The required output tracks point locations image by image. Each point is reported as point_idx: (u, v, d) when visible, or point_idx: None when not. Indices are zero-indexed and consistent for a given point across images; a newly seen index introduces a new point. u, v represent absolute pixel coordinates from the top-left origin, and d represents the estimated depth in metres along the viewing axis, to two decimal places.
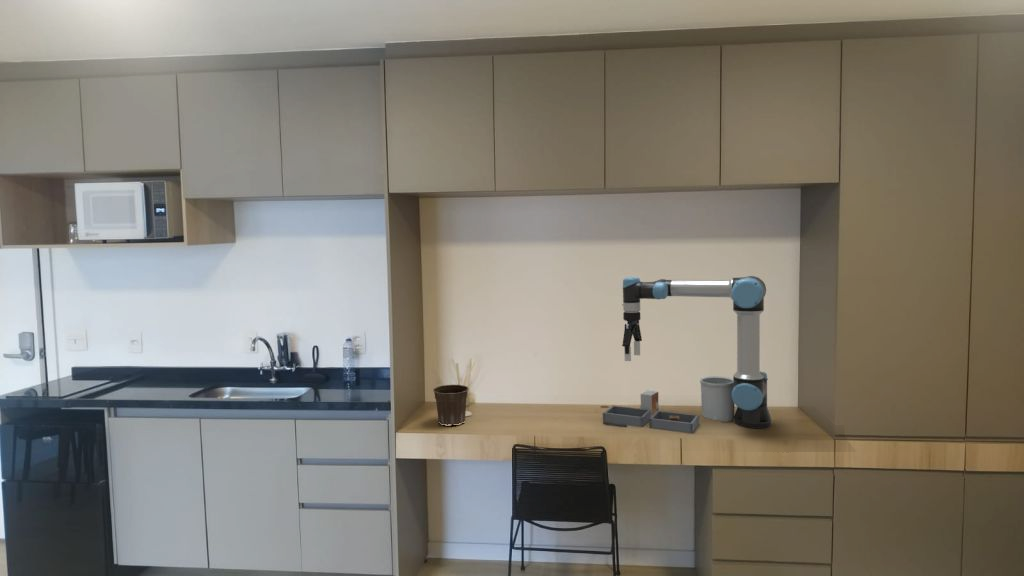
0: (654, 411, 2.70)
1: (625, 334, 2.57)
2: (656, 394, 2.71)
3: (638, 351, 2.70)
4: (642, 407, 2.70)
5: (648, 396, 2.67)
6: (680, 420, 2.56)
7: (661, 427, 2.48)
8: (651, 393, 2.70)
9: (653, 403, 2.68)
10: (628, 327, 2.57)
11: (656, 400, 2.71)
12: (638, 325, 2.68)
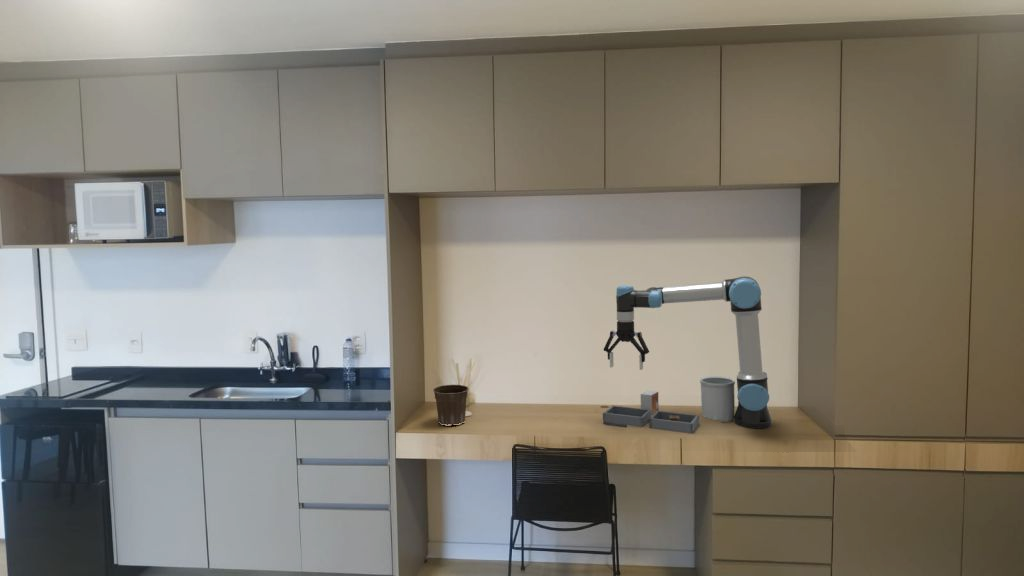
0: (654, 411, 2.70)
1: None
2: (656, 394, 2.71)
3: None
4: (642, 407, 2.70)
5: (648, 396, 2.67)
6: (680, 420, 2.56)
7: (661, 427, 2.48)
8: (651, 393, 2.70)
9: (653, 403, 2.68)
10: None
11: (656, 400, 2.71)
12: None
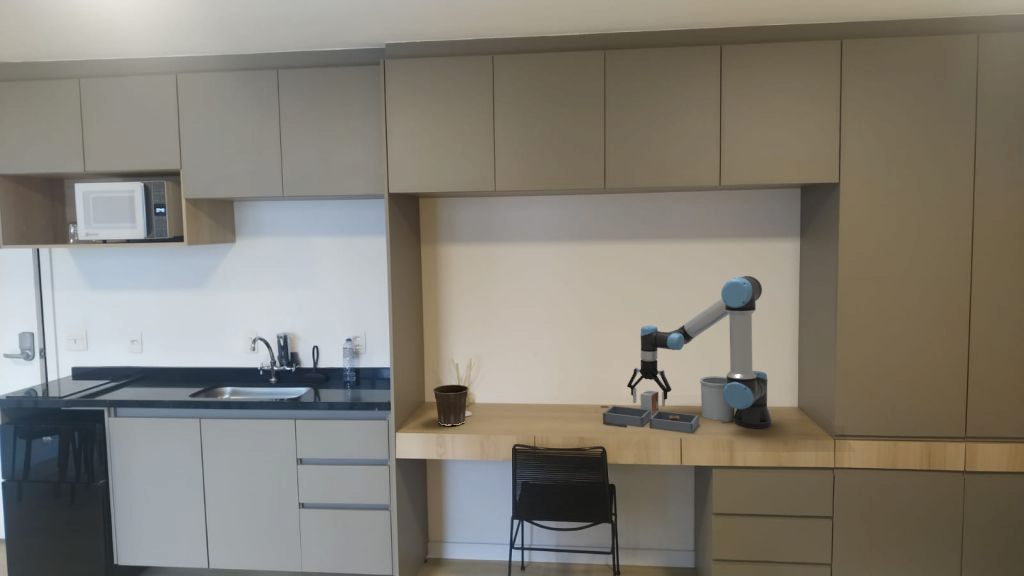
0: (654, 411, 2.70)
1: (632, 376, 2.75)
2: (656, 394, 2.71)
3: None
4: (642, 407, 2.70)
5: (648, 396, 2.67)
6: (680, 420, 2.56)
7: (661, 427, 2.48)
8: (651, 393, 2.70)
9: (653, 403, 2.68)
10: None
11: (656, 400, 2.71)
12: None
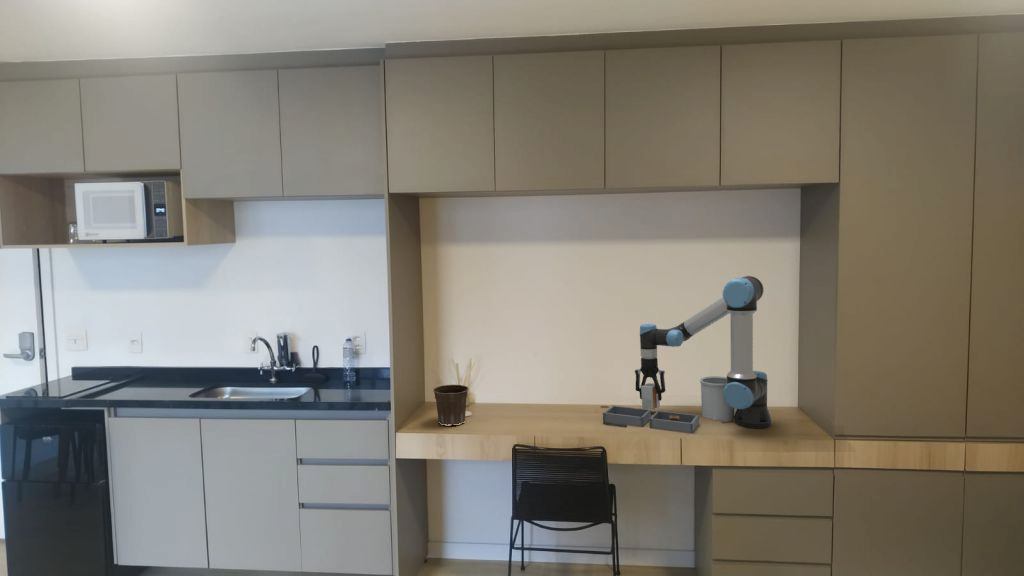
0: (656, 404, 2.69)
1: None
2: None
3: None
4: (643, 399, 2.69)
5: (649, 388, 2.67)
6: (680, 420, 2.56)
7: (661, 427, 2.48)
8: (651, 385, 2.69)
9: (654, 395, 2.67)
10: None
11: (657, 392, 2.70)
12: (660, 375, 2.67)
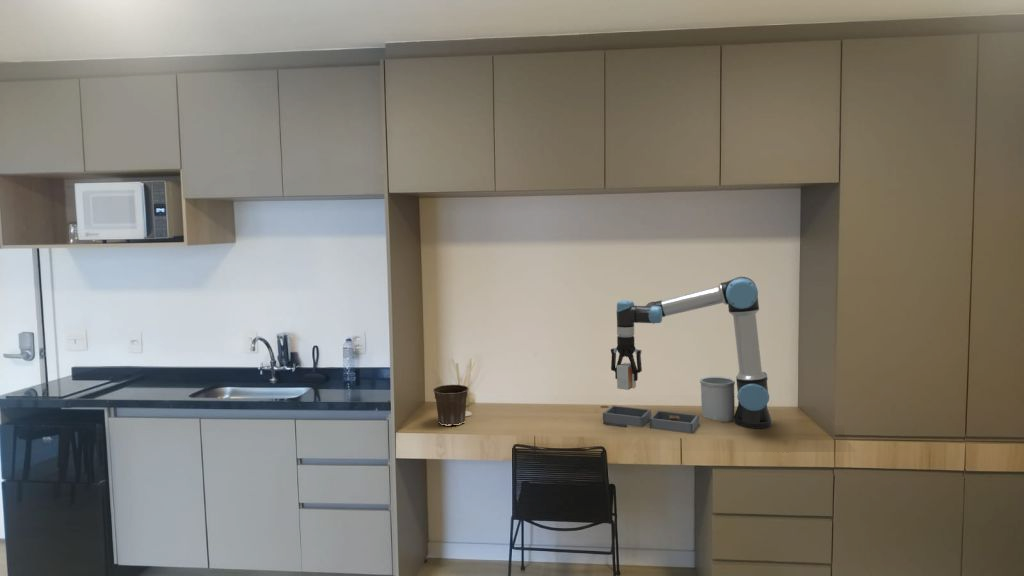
0: (631, 384, 2.58)
1: None
2: None
3: None
4: (618, 379, 2.58)
5: (624, 368, 2.56)
6: (680, 420, 2.56)
7: (661, 427, 2.48)
8: (627, 365, 2.58)
9: (630, 375, 2.57)
10: None
11: (633, 372, 2.59)
12: (636, 355, 2.56)
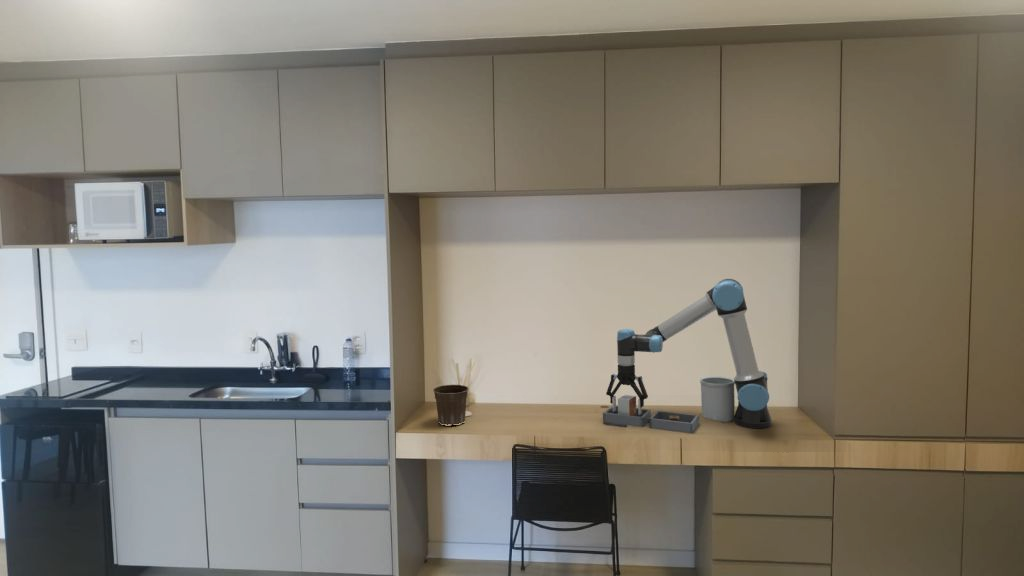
0: None
1: None
2: (634, 399, 2.61)
3: None
4: (619, 412, 2.59)
5: (625, 401, 2.57)
6: (680, 420, 2.56)
7: (661, 427, 2.48)
8: (628, 398, 2.59)
9: (631, 408, 2.58)
10: None
11: (633, 404, 2.60)
12: (638, 382, 2.56)
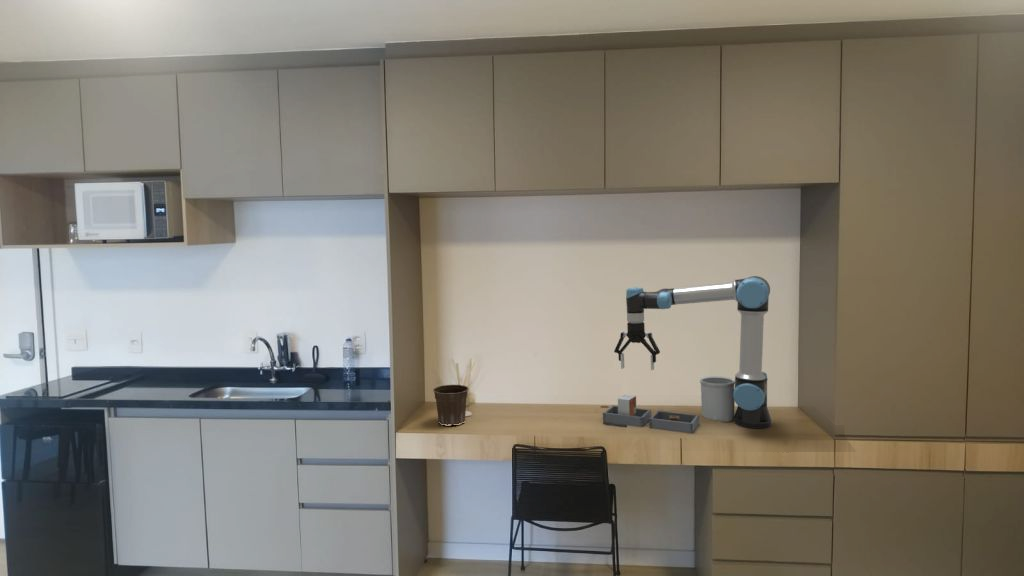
0: None
1: None
2: (634, 399, 2.61)
3: None
4: (619, 412, 2.59)
5: (625, 401, 2.57)
6: (680, 420, 2.56)
7: (661, 427, 2.48)
8: (628, 398, 2.59)
9: (631, 408, 2.58)
10: None
11: (633, 404, 2.60)
12: None
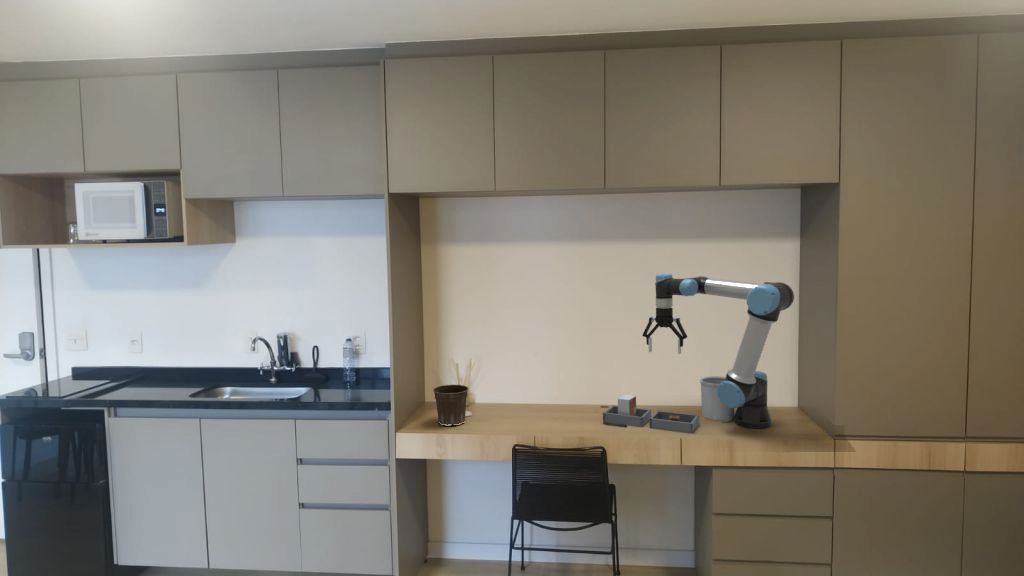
0: None
1: None
2: (634, 399, 2.61)
3: None
4: (619, 412, 2.59)
5: (625, 401, 2.57)
6: (680, 420, 2.56)
7: (661, 427, 2.48)
8: (628, 398, 2.59)
9: (631, 408, 2.58)
10: None
11: (633, 404, 2.60)
12: None
